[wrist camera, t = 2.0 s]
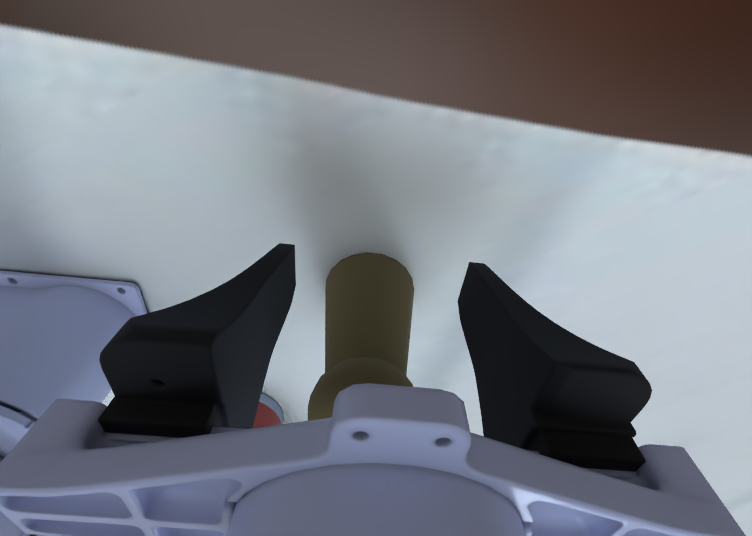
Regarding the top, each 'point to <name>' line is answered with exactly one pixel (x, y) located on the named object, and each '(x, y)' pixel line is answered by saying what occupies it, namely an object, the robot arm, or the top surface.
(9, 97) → the top surface
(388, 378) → the cork
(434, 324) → the top surface
